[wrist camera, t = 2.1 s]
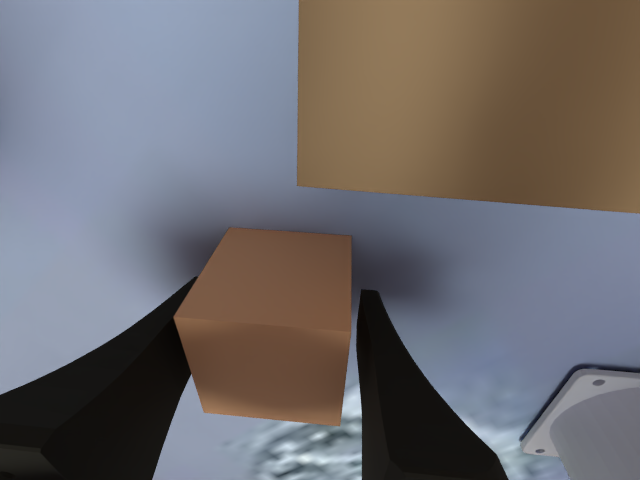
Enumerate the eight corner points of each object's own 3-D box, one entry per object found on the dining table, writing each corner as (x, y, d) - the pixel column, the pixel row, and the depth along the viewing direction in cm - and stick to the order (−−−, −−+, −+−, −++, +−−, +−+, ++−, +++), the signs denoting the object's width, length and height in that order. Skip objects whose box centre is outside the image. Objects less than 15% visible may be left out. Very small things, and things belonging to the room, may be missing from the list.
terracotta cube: (351, 234, 13) (351, 331, 9) (343, 320, 16) (340, 426, 11) (229, 226, 13) (173, 317, 9) (242, 312, 16) (204, 412, 12)
